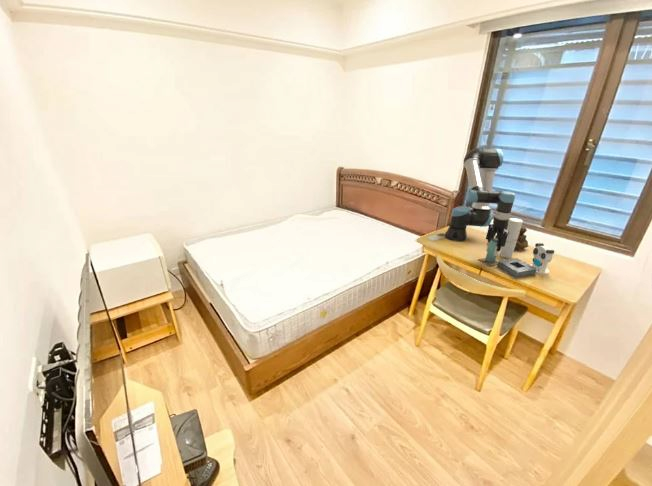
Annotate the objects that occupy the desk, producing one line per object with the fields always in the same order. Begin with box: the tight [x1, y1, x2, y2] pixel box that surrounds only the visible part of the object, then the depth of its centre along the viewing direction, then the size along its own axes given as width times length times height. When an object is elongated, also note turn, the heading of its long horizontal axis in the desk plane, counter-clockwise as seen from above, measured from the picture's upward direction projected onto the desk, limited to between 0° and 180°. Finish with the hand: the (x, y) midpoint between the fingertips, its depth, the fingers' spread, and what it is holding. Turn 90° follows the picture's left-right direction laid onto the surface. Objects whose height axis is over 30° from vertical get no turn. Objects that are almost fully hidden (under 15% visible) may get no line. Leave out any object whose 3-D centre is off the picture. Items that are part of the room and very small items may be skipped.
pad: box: [478, 257, 498, 267], centre depth 186 cm, size 9×9×1 cm
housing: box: [496, 257, 537, 279], centre depth 176 cm, size 14×14×4 cm
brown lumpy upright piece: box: [494, 219, 529, 252], centre depth 205 cm, size 20×11×17 cm, turn 33°
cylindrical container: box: [499, 217, 523, 259], centre depth 190 cm, size 7×7×25 cm
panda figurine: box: [528, 242, 555, 275], centre depth 175 cm, size 12×11×15 cm
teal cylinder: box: [485, 237, 498, 263], centre depth 183 cm, size 5×5×15 cm
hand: (491, 253), depth 183 cm, fingers closed on teal cylinder, 5 cm apart
